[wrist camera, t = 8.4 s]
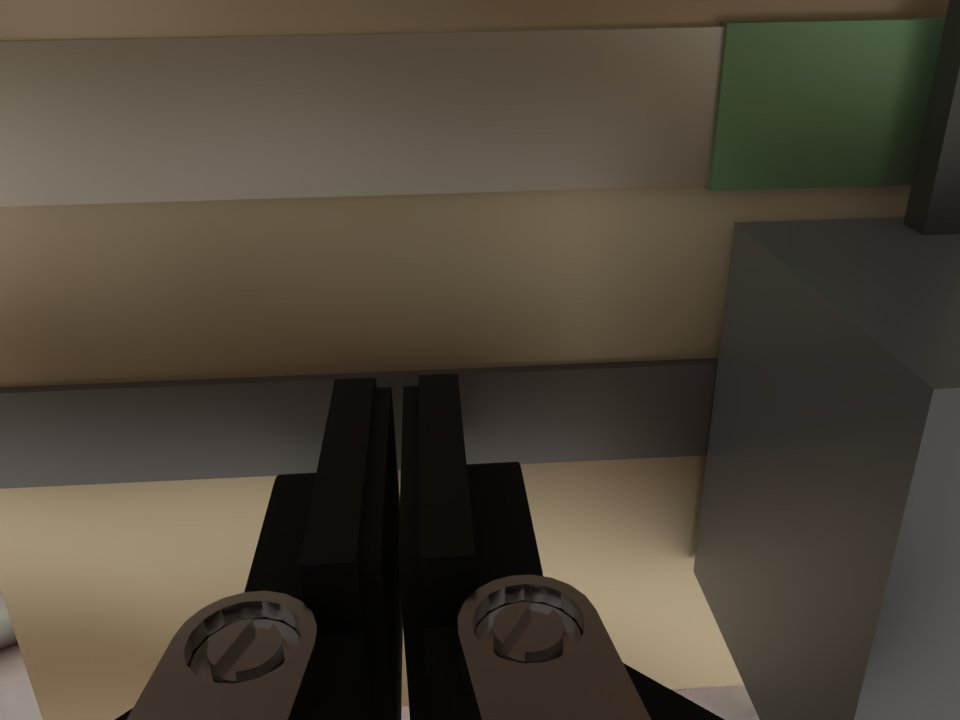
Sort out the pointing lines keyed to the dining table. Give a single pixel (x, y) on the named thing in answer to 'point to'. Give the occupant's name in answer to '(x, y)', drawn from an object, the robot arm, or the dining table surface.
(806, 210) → the track board
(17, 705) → the dining table surface
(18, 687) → the dining table surface
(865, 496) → the block
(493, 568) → the robot arm
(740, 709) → the dining table surface
